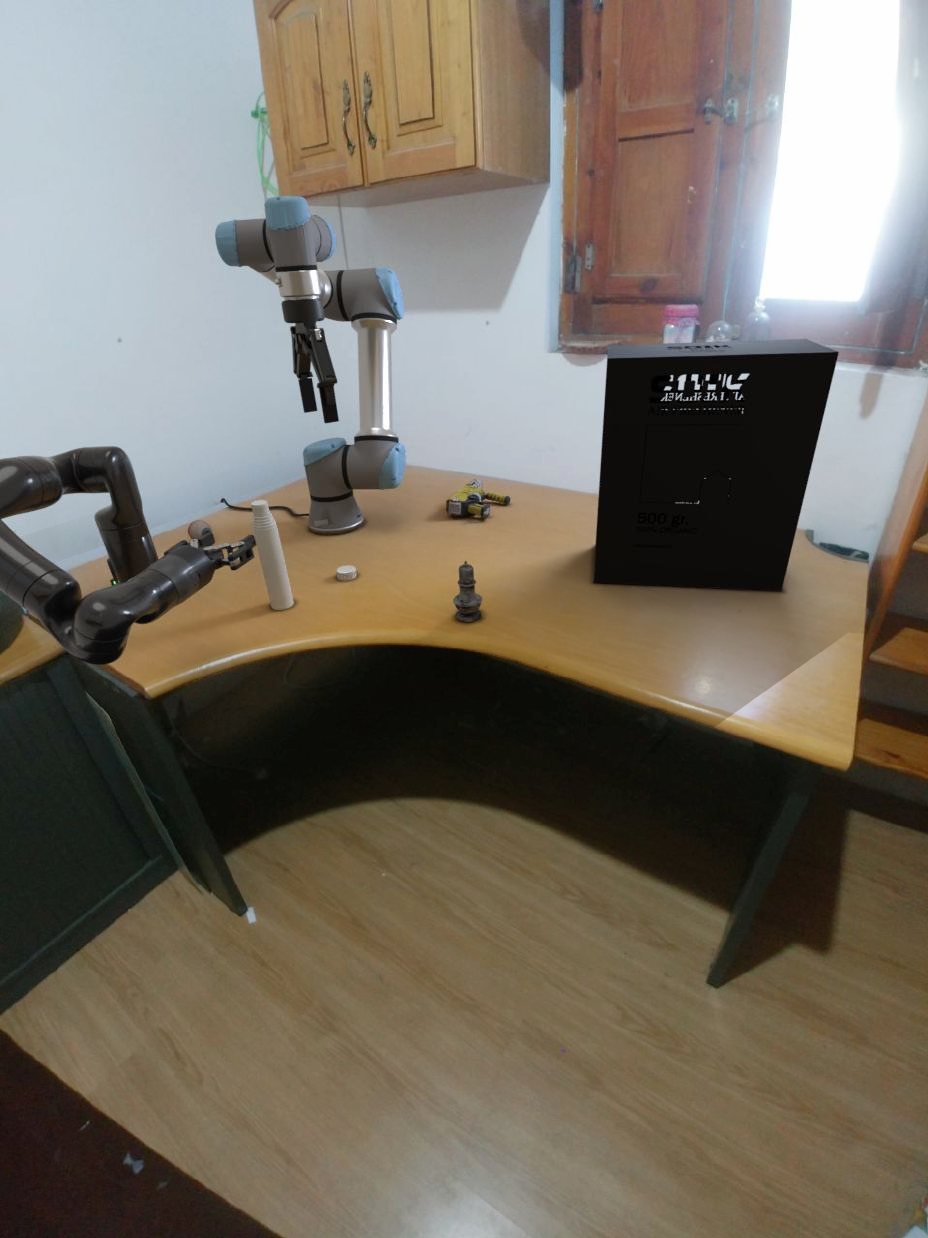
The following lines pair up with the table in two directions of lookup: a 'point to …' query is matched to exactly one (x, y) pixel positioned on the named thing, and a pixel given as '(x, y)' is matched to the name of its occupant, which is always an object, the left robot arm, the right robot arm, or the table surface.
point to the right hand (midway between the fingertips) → (320, 416)
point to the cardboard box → (707, 461)
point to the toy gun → (473, 500)
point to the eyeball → (198, 529)
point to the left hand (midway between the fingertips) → (232, 538)
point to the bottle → (271, 556)
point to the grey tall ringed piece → (467, 595)
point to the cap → (346, 573)
